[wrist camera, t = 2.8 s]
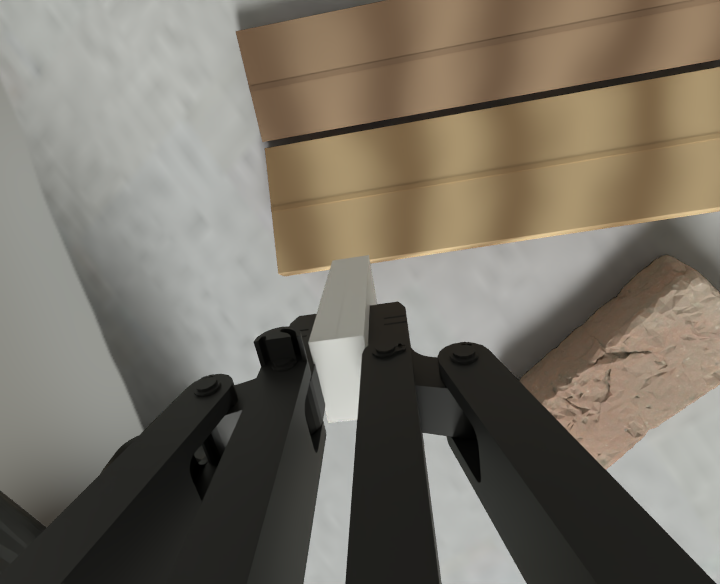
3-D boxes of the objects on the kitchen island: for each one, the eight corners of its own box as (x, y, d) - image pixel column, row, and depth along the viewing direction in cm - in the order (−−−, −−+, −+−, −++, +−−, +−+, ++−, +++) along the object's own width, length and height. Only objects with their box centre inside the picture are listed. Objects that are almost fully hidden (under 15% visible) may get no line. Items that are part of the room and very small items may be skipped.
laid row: (266, 140, 28) (262, 142, 27) (241, 34, 25) (235, 31, 24) (729, 56, 25) (746, 54, 24) (748, -70, 23) (767, -79, 22)
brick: (660, 246, 30) (707, 270, 26) (731, 314, 32) (786, 347, 28) (489, 396, 36) (505, 436, 31) (558, 446, 37) (582, 491, 33)
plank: (283, 276, 27) (278, 273, 26) (270, 156, 28) (264, 148, 27) (760, 204, 25) (778, 197, 23) (726, 75, 26) (743, 62, 24)
